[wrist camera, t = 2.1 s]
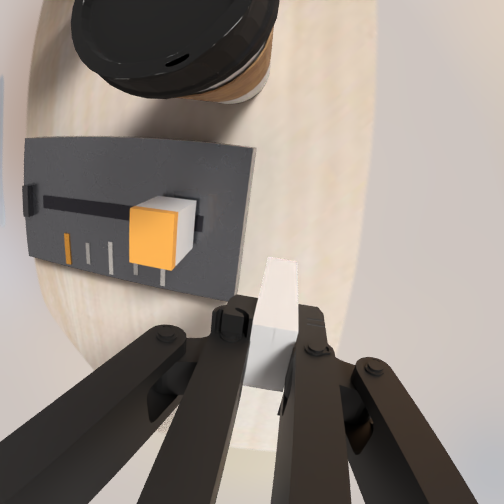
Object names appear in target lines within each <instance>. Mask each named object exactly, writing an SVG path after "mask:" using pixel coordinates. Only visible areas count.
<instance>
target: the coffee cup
mask: <svg viewBox="0 0 504 504" xmlns="http://www.w3.org/2000/svg"><path fill="white" fill-rule="evenodd" d="M278 7H279V0H75V2H74V6H73V11H72V18H71V31H72V39H73V43H74V46H75V50H76V51H77V53H78V55H79V57H80V59H81V60H82V62H83V63H84V64H85V65H86V66H87V67H88V68H89V69H90V70H92V71H94V72H96V73H97V74H99V76H101V77H102V78H103V79H104V80H105V81H106V82H108V83H109V84H110V85H111V86H113V87H115V88H117V89H119V90H121V91H123V92H125V93H129V94H131V95H135V96H139V97H143V98H150V99H169V98H185V99H194V100H203V101H212V102H217V103H223V104H236V103H240V102H244V101H246V100H248V99H250V98H252V97H253V96H255V95H256V94H257V93H258V92H259V91H260V90H261V89H262V88H263V87H264V85H265V84H266V82H267V79H268V77H269V72H270V59H271V49H272V39H273V28H274V24H275V21H276V19H277V13H278Z"/></svg>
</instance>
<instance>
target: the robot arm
mask: <svg viewBox="0 0 504 504" xmlns="http://www.w3.org/2000/svg"><path fill="white" fill-rule="evenodd" d="M242 385H244V386H250V387H256V388H261V389H267V390H274V391H280V392H283V389H284V394H283V397H282V401H281V404H280V407H279V411H278V414H277V415H280V421H279V432H278V442H277V452H276V462H275V471H274V480H273V489H272V497H271V504H351V492H350V479H349V467H348V461H349V463H350V466H351V468H352V471H353V473H354V476H355V479H356V481H357V484H358V486H359V489H360V491H361V494H362V496H363V499H364V502H365V504H478V503H477V501H476V499H475V498H474V496H473V494H472V492H471V491H470V489H469V488H468V486H467V484H466V483H465V481H464V479H463V477H462V476H461V475H460V472H459V471H458V469H457V468H456V466H455V464H454V463H453V461H452V460H451V458H450V456H449V455H448V453H447V452H446V450H445V448H444V447H443V445H442V444H441V442H440V441H439V439H438V438H437V436H436V434H435V433H434V431H433V430H432V428H431V427H430V425H429V424H428V422H427V421H426V419H425V417H424V416H423V414H422V413H421V411H420V410H419V408H418V407H417V405H416V404H415V402H414V401H413V399H412V398H411V397H410V395H409V394H408V392H407V391H406V389H405V388H404V386H403V385H402V383H401V382H400V380H399V379H398V377H397V376H396V375H395V373H394V372H393V370H392V369H391V367H390V366H389V365H388V364H387V363H385V362H384V361H382V360H380V359H377V358H373V357H365V358H361V359H359V360H358V361H357V362H356V365H353V364H350V363H347V362H344V361H341V360H339V359H338V358H336V357H335V353H334V350H333V348H332V347H331V346H330V345H328V343H327V336H326V329H325V322H324V315H323V313H322V312H321V310H320V309H319V308H318V307H313V306H307V305H301V304H298V266H297V261H292V260H286V259H281V258H275V257H269V256H268V259H267V263H266V268H265V272H264V276H263V280H262V285H261V289H260V293H259V297H258V298H254V297H248V296H243V295H237V294H236V295H235V296H233V297H232V298H230V299H229V301H228V303H227V305H223V306H219V307H217V308H215V309H214V310H213V312H212V324H211V333H210V335H209V336H207V337H203V338H186V333H185V332H184V331H183V330H182V329H180V328H179V327H176V326H173V325H158V326H155V327H153V328H151V329H149V330H148V331H147V332H145V333H144V334H143V335H141V336H140V337H139V338H137V339H136V340H135V341H133V342H132V343H131V344H129V345H128V346H127V347H125V348H124V349H123V350H121V351H120V352H119V353H117V354H116V355H115V356H113V357H112V358H111V359H109V360H108V361H107V362H105V363H104V364H103V365H102V366H100V367H99V368H98V369H96V370H95V371H94V372H93V373H91V374H90V375H88V376H87V377H86V378H84V379H83V380H82V381H80V382H79V383H78V384H76V385H75V386H74V387H73V388H71V389H70V390H68V391H67V392H66V393H64V394H63V395H62V396H60V397H59V398H58V399H56V400H55V401H54V402H53V403H51V404H50V405H49V406H47V407H46V408H45V409H43V410H42V411H41V412H39V413H38V414H37V415H35V416H34V417H33V418H31V419H30V420H29V421H27V422H26V423H25V424H23V425H22V426H21V427H19V428H18V429H17V430H15V431H14V432H13V433H11V434H10V435H9V436H7V437H6V438H5V439H4V440H2V441H1V442H0V504H88V503H89V502H90V501H91V500H92V499H93V498H94V497H95V496H96V495H97V494H98V492H99V491H100V490H101V489H102V488H103V487H104V486H105V485H106V484H107V483H108V482H109V481H110V480H111V479H112V478H113V477H114V476H115V475H116V474H117V472H118V471H119V470H120V469H121V468H122V467H123V466H124V465H125V464H126V463H127V462H128V461H129V460H130V458H131V457H132V456H133V455H134V454H135V453H136V452H137V451H138V450H139V448H140V447H141V446H142V445H143V444H144V443H145V442H146V441H147V440H148V439H149V437H150V436H151V435H152V434H153V433H154V432H155V431H156V430H157V429H158V427H159V426H160V425H161V424H162V423H163V422H164V421H165V419H166V418H167V417H168V416H169V415H170V414H171V413H172V412H173V410H174V409H175V408H176V407H177V406H178V405H179V406H178V409H177V411H176V413H175V416H174V418H173V420H172V423H171V425H170V427H169V430H168V432H167V434H166V437H165V439H164V441H163V443H162V446H161V448H160V450H159V453H158V455H157V458H156V460H155V462H154V464H153V467H152V469H151V472H150V474H149V476H148V478H147V481H146V483H145V485H144V488H143V490H142V492H141V495H140V497H139V499H138V502H137V504H215V503H216V498H217V494H218V490H219V486H220V482H221V478H222V473H223V470H224V465H225V461H226V457H227V453H228V449H229V444H230V440H231V436H232V431H233V427H234V423H235V418H236V414H237V410H238V405H239V401H240V396H241V391H242ZM284 385H285V386H284ZM179 403H180V404H179Z"/></svg>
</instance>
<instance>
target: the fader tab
mask: <svg viewBox="0 0 504 504" xmlns="http://www.w3.org/2000/svg"><path fill="white" fill-rule="evenodd" d="M195 211H196V201H195V200H187V199H180V198H172V197H164V196H157V197H154V198H152V199H150V200H147V201H145V202H143V203H140V204H138V205H136V206H134V207H131V208H130V224H129V262H130V263H135V264H140V265H145V266H150V267H155V268H160V269H165V270H170V271H172V270H173V269H174V268H175V266H176V265H177V264H178V263H179V262H180V261H181V260H182V259H183V258H184V257H185V256H186V254H187V253H188V252H189V251H190V250H191V249H192V248H193V236H194V223H195Z"/></svg>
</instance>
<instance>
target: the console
mask: <svg viewBox="0 0 504 504" xmlns="http://www.w3.org/2000/svg"><path fill="white" fill-rule="evenodd" d="M255 155H256V148H254V147H247V146H239V145H230V144H221V143H211V142H201V141H190V140H177V139H162V138H144V137H116V136H60V137H36V138H25V152H24V186H22V188H23V189H22V192H23V214H24V216H25V219H26V231H27V242H28V251H29V256H32V257H35V258H39V259H43V260H46V261H50V262H54V263H58V264H62V265H65V266H69V267H73V268H77V269H81V270H85V271H89V272H93V273H97V274H101V275H106V276H110V277H114V278H118V279H123V280H127V281H131V282H136V283H140V284H145V285H149V286H154V287H158V288H163V289H168V290H173V291H177V292H182V293H187V294H192V295H197V296H202V297H207V298H212V299H218V300H223V301H229V299H230V298H232V297H233V296H235V295H236V294H237V292H238V284H239V276H240V269H241V261H242V253H243V245H244V238H245V230H246V223H247V215H248V207H249V200H250V192H251V185H252V178H253V170H254V163H255ZM157 196H164V197H172V198H180V199H187V200H195V201H196V211H195V223H194V236H193V248H192V249H191V250H190V251H189V252H188V253H187V254H186V256H185V257H184V258H183V259H182V260H181V261H180V262H179V263H178V264H177V265H176V266H175V268H174V269H173V270H172V271H170V270H165V269H160V268H155V267H150V266H145V265H140V264H135V263H130V262H129V224H130V208H131V207H134V206H136V205H138V204H140V203H143V202H145V201H147V200H150V199H152V198H154V197H157Z"/></svg>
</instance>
